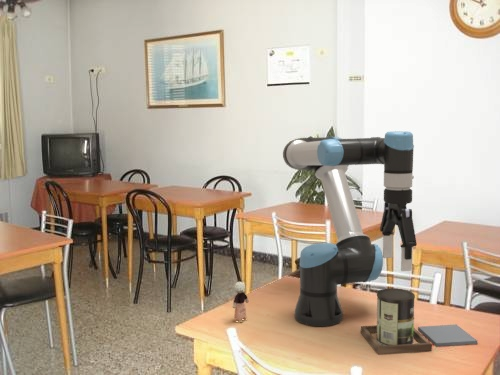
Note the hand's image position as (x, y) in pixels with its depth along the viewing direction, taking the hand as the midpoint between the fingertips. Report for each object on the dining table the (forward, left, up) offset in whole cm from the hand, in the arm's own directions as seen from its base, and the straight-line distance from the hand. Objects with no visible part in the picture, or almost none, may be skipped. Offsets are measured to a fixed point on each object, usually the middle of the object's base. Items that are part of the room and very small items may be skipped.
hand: (396, 264), depth 150 cm
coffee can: (0, 0, -23) cm, 23 cm away
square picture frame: (0, 0, -23) cm, 23 cm away
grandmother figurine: (-22, -42, -23) cm, 53 cm away
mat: (-1, +16, -23) cm, 28 cm away
